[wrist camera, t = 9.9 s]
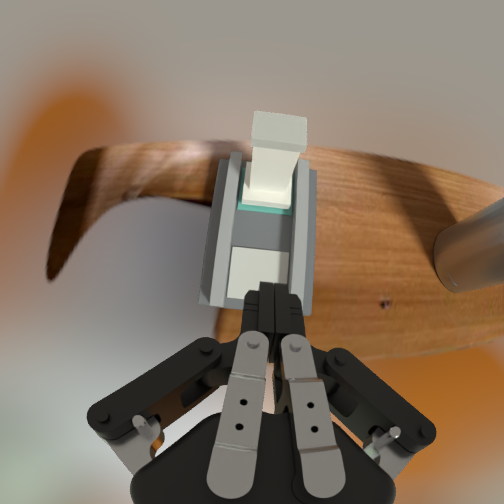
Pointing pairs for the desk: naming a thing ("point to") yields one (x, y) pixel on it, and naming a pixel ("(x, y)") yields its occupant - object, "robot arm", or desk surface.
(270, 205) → the switch tab
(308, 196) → the switch panel
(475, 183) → the desk surface
